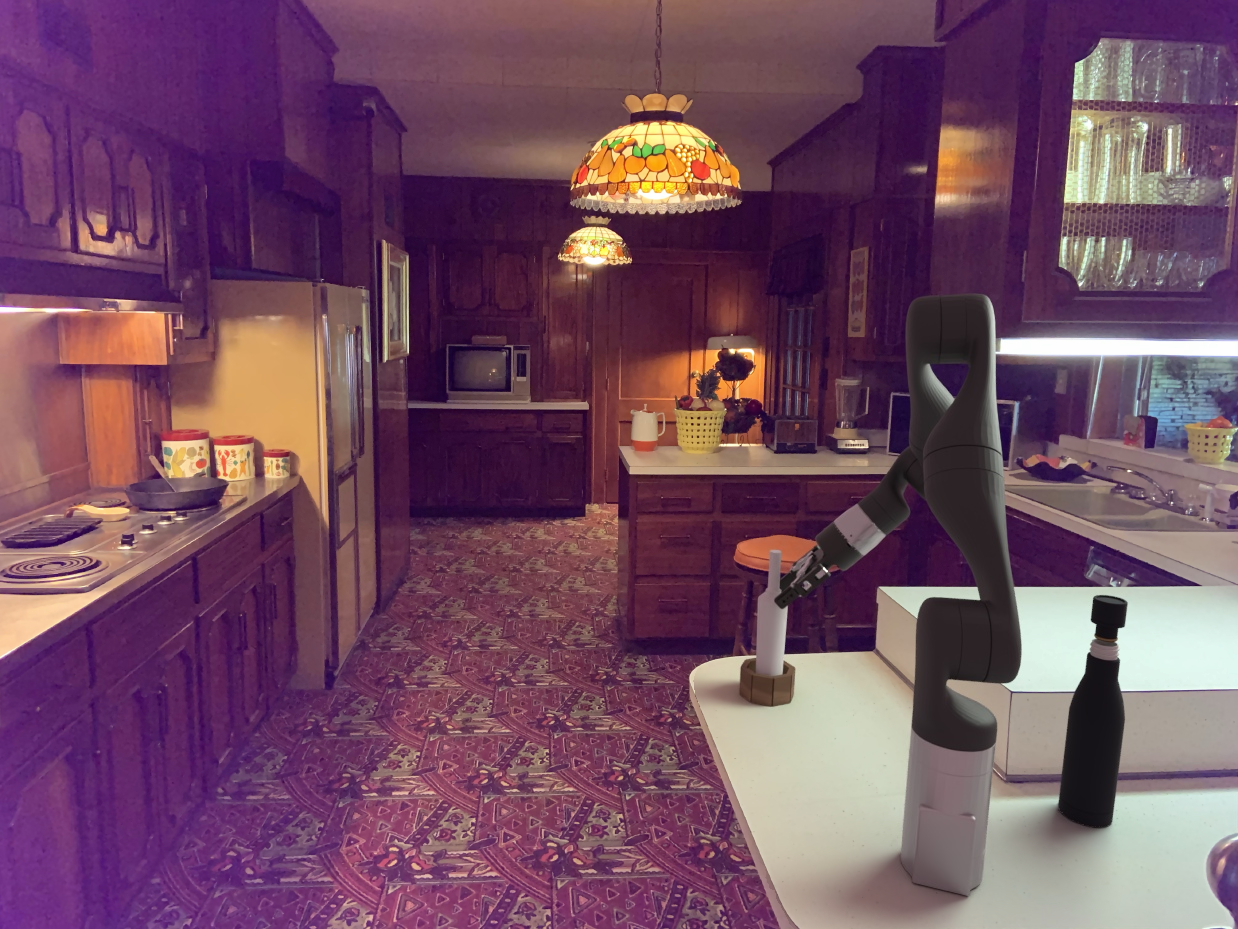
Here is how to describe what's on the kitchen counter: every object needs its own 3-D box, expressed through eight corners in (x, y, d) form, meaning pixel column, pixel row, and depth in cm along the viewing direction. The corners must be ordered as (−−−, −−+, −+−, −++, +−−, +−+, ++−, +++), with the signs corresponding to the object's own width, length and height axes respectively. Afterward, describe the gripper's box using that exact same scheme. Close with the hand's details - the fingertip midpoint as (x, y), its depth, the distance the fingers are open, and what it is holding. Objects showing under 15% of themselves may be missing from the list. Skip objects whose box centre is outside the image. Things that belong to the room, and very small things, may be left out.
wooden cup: (787, 709, 142) (789, 681, 141) (735, 700, 145) (736, 672, 144) (796, 688, 150) (798, 662, 149) (747, 680, 153) (748, 654, 152)
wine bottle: (1047, 806, 114) (1070, 594, 109) (1079, 796, 117) (1103, 589, 112) (1090, 832, 108) (1117, 609, 104) (1123, 821, 111) (1151, 603, 106)
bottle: (781, 684, 150) (789, 548, 146) (784, 696, 144) (792, 556, 140) (752, 682, 150) (759, 546, 146) (754, 694, 145) (761, 554, 141)
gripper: (832, 511, 147) (763, 570, 151) (838, 529, 134) (761, 593, 138) (861, 543, 147) (791, 600, 151) (870, 564, 134) (792, 627, 137)
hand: (777, 597), depth 144 cm, fingers open, 8 cm apart
